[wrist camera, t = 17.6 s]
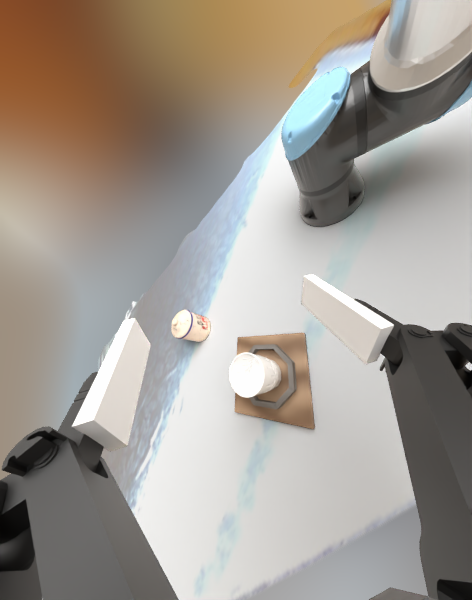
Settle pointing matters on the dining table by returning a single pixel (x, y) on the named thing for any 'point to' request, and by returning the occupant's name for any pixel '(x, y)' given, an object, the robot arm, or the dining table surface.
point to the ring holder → (294, 380)
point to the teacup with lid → (190, 326)
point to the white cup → (253, 374)
